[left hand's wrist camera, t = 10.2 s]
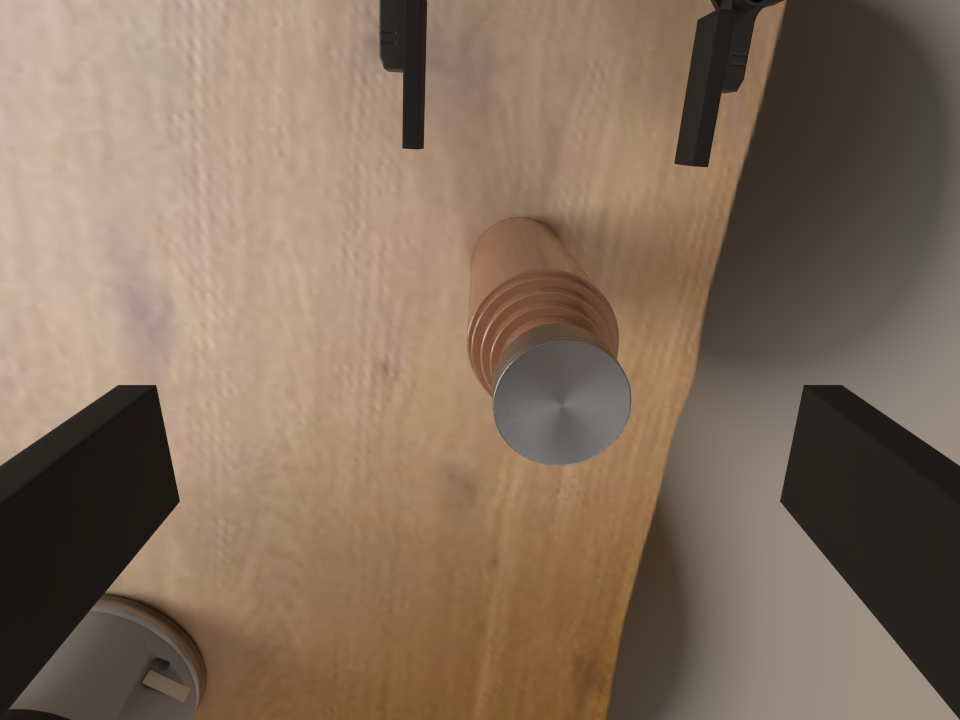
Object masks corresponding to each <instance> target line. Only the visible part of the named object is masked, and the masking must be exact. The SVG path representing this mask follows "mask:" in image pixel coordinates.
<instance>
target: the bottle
mask: <svg viewBox="0 0 960 720" xmlns="http://www.w3.org/2000/svg"><path fill="white" fill-rule="evenodd" d="M550 324H567V325H573V326H577V327H581V328H583V329H586V330H588V331H590V332H591V333H593V334H595V335H596V336H597V337H599V338H600V339H601V340H602V341H603V342H604V343H605V344H606V345H607V346H608V347H609V349H610V350H611V351H612V353H613V355H614V356H615V358H616V359H617V356H618V346H619V331H618V325H617V320H616V317H615V314H614V312H613V310H612V308H611V306H610V304H609V302H608V301H607V299H606V298H605V297H604V295H603V294H602V293H601V291H600V290H599V289H598V288H597V286H596V285H595V284H594V283H593V281H592V280H591V279H590V278H589V276H588V275H587V274H586V273H585V271H584V270H583V269H582V268H581V266H580V265H579V264H578V263H577V261H576V260H575V259H574V258H573V256H572V255H571V254H570V253H569V251H568V250H567V249H566V248H565V246H564V245H563V244H562V243H561V241H560V240H559V239H558V238H557V236H556V235H555V234H554V233H553V232H552V231H551V230H550V229H549V228H548V227H547V226H545V225H544V224H542V223H540V222H538V221H535V220H532V219H529V218H510V219H506V220H503V221H500V222H498V223H496V224H495V225H493V226H491V227H490V228H489V229H488V230H486V232H485V233H484V234H483V235H482V236H481V237H480V239H479V240H478V242H477V244H476V246H475V248H474V251H473V255H472V261H471V277H470V295H469V312H468V330H467V352H468V358H469V362H470V365H471V368H472V370H473V372H474V374H475V376H476V378H477V380H478V381H479V383H480V384H481V385H482V386H483V388H484V389H485V390H486V392H487V393H488V394H489V395H490V396H491V397H492V378H493V372H494V369H495V366H496V364H497V361H498V359H499V357H500V356H501V354H502V353H503V351H504V350H505V349H506V348H507V346H508V345H509V344H510V343H511V342H512V341H513V340H515V339H516V338H517V337H519V336H520V335H522V334H523V333H525V332H527V331H529V330H531V329H534V328H536V327H540V326H544V325H550Z"/></svg>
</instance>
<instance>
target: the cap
mask: <svg viewBox="0 0 960 720" xmlns="http://www.w3.org/2000/svg"><path fill="white" fill-rule="evenodd" d="M492 400H493V413H494V419H495V422H496V425H497V428H498V430H499V432H500V434H501V435H502V437H503V438H504V440H505V441H506V442H507V443H508V445H509V446H510V447H511V448H513V449H514V450H515V451H516V452H517V453H519V454H520V455H522V456H524V457H526V458H527V459H529V460H532V461H535V462H537V463H541V464H546V465H554V466H564V465H572V464H577V463H581V462H584V461H586V460H589V459H591V458H593V457H595V456H597V455H599V454H600V453H602V452H603V451H605V450H606V449H607V448H608V447H609V446H611V444H612V443H613V442H614V441H615V440H616V439H617V438H618V436H619V435H620V434H621V432H622V430H623V429H624V427H625V425H626V422H627V420H628V417H629V413H630V409H631V390H630V385H629V382H628V379H627V377H626V375H625V373H624V371H623V369H622V367H621V366H620V364H619V363H618V361H617V359H616V358H615V356H614V355H613V353H612V351H611V350H610V349H609V347H608V346H607V345H606V344H605V343H604V342H603V341H602V340H601V339H600V338H599V337H597V336H596V335H595V334H593V333H591V332H590V331H588V330H586V329H583V328H581V327H577V326H573V325H567V324H550V325H544V326H540V327H536V328H534V329H531V330H529V331H527V332H525V333H523V334H522V335H520V336H519V337H517V338H516V339H515V340H513V341H512V342H511V343H510V344H509V345H508V346H507V348H506V349H505V350H504V351H503V353H502V354H501V356H500V357H499V359H498V361H497V364H496V366H495V369H494V372H493V378H492Z"/></svg>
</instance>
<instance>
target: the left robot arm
mask: <svg viewBox="0 0 960 720" xmlns="http://www.w3.org/2000/svg"><path fill="white" fill-rule="evenodd" d="M179 502H180V500H179V495H178V490H177V485H176V480H175V475H174V470H173V466H172V461H171V456H170V451H169V446H168V441H167V436H166V431H165V426H164V421H163V417H162V412H161V407H160V402H159V397H158V392H157V387H156V385H118V386H116V387H115V388H113V389H112V390H111V391H109V392H108V393H106V394H105V395H103V396H102V397H100V398H99V399H97V400H96V401H94V402H93V403H92V404H90V405H89V406H87V407H86V408H84V409H83V410H81V411H80V412H78V413H77V414H75V415H74V416H73V417H71V418H70V419H68V420H67V421H65V422H64V423H62V424H61V425H59V426H58V427H57V428H55V429H54V430H52V431H51V432H49V433H48V434H46V435H45V436H43V437H42V438H40V439H39V440H38V441H36V442H35V443H33V444H32V445H30V446H29V447H27V448H26V449H24V450H23V451H21V452H20V453H19V454H17V455H16V456H14V457H13V458H11V459H10V460H8V461H7V462H5V463H4V464H3V465H1V466H0V720H192V719H193V717H194V715H195V713H196V711H197V709H198V707H199V705H200V703H201V701H202V698H203V696H204V692H205V688H206V671H205V666H204V663H203V660H202V657H201V655H200V653H199V651H198V649H197V648H196V646H195V645H194V643H193V642H192V640H191V639H190V638H189V637H188V635H187V634H186V633H185V632H184V631H183V630H182V629H181V628H180V627H179V626H177V625H176V624H175V623H174V622H173V621H171V620H170V619H168V618H167V617H166V616H164V615H162V614H161V613H159V612H157V611H156V610H154V609H152V608H150V607H148V606H145V605H143V604H140V603H138V602H135V601H132V600H129V599H125V598H121V597H116V596H111V595H103V594H104V593H105V592H106V591H107V589H108V588H109V587H110V586H111V584H112V583H113V582H114V581H115V580H116V578H117V577H118V576H119V575H120V574H121V572H122V571H123V570H124V569H125V567H126V566H127V565H128V564H129V563H130V561H131V560H132V559H133V558H134V557H135V555H136V554H137V553H138V552H139V550H140V549H141V548H142V547H143V546H144V544H145V543H146V542H147V541H148V540H149V538H150V537H151V536H152V535H153V533H154V532H155V531H156V530H157V529H158V527H159V526H160V525H161V524H162V523H163V521H164V520H165V519H166V518H167V517H168V515H169V514H170V513H171V512H172V510H173V509H174V508H175V507H176V506H177V504H178V503H179ZM780 502H781V503H782V504H783V506H784V507H785V508H786V509H787V510H788V512H789V513H790V514H791V515H792V516H793V518H794V519H795V520H796V521H797V523H798V524H799V525H800V526H801V527H802V529H803V530H804V531H805V532H806V533H807V535H808V536H809V537H810V538H811V540H812V541H813V542H814V543H815V544H816V546H817V547H818V548H819V549H820V550H821V552H822V553H823V554H824V555H825V556H826V558H827V559H828V560H829V561H830V563H831V564H832V565H833V566H834V567H835V569H836V570H837V571H838V572H839V574H840V575H841V576H842V577H843V578H844V580H845V581H846V582H847V583H848V584H849V586H850V587H851V588H852V589H853V591H854V592H855V593H856V594H857V595H858V597H859V598H860V599H861V600H862V601H863V603H864V604H865V605H866V606H867V608H868V609H869V610H870V611H871V612H872V614H873V615H874V616H875V617H876V618H877V620H878V621H879V622H880V623H881V625H882V626H883V627H884V628H885V629H886V631H887V632H888V633H889V634H890V635H891V637H892V638H893V639H894V640H895V641H896V643H897V644H898V645H899V646H900V647H901V649H902V650H903V651H904V652H905V654H906V655H907V656H908V657H909V658H910V660H911V661H912V662H913V663H914V664H915V666H916V667H917V668H918V669H919V671H920V672H921V673H922V674H923V675H924V677H925V678H926V679H927V680H928V682H929V683H930V684H931V685H932V686H933V688H934V689H935V690H936V691H937V692H938V694H939V695H940V696H941V697H942V699H943V700H944V701H945V702H946V703H947V705H948V706H949V707H950V708H951V709H952V711H953V712H954V713H955V714H956V715H957V717H958V718H959V719H960V466H959V465H957V464H956V463H954V462H953V461H952V460H950V459H949V458H947V457H946V456H944V455H943V454H941V453H940V452H938V451H937V450H936V449H934V448H933V447H931V446H930V445H928V444H927V443H925V442H924V441H922V440H921V439H920V438H918V437H917V436H915V435H914V434H912V433H911V432H909V431H908V430H906V429H905V428H903V427H902V426H901V425H899V424H898V423H896V422H895V421H893V420H892V419H890V418H889V417H887V416H886V415H885V414H883V413H882V412H880V411H879V410H877V409H876V408H874V407H873V406H871V405H870V404H868V403H867V402H865V401H864V400H863V399H861V398H860V397H858V396H857V395H855V394H854V393H852V392H851V391H849V390H848V389H847V388H845V387H844V386H842V385H804V387H803V392H802V397H801V402H800V407H799V412H798V417H797V422H796V426H795V431H794V436H793V441H792V446H791V451H790V456H789V461H788V466H787V471H786V475H785V480H784V485H783V490H782V495H781V500H780Z"/></svg>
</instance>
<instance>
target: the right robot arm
mask: <svg viewBox="0 0 960 720" xmlns="http://www.w3.org/2000/svg"><path fill="white" fill-rule="evenodd" d="M781 1H784V0H711V2H712V4H713V6H714V8H715V10H716V11H714V12H712V13H710V14H708V15H706V16H705V17H703V18H701V19H699V20H698V22H697V28H696V34H695V40H694V46H693V53H692V59H691V65H690V71H689V77H688V83H687V90H686V96H685V102H684V108H683V114H682V120H681V126H680V133H679V139H678V145H677V151H676V157H675V163H674V164H680V165H687V166H698V167H708V164H709V158H710V152H711V147H712V141H713V136H714V130H715V125H716V119H717V114H718V108H719V103H720V97H721V93H730V92H735V91H737V90H738V89H739V87H740V85H741V83H742V81H743V80H744V75H745V69H746V64H747V59H748V54H749V49H750V43H751V38H752V33H753V28H754V22H755V19H756V17H757V15H758V13H759V12H760V10H761V9H762V8H765V7H768V6H772V5H775V4H777V3H779V2H781ZM426 26H427V0H380V58H381V61H382V64H383V67H384V69H386V70H387V71H388V72H403V148H405V149H423V148H424V110H425V68H426Z"/></svg>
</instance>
